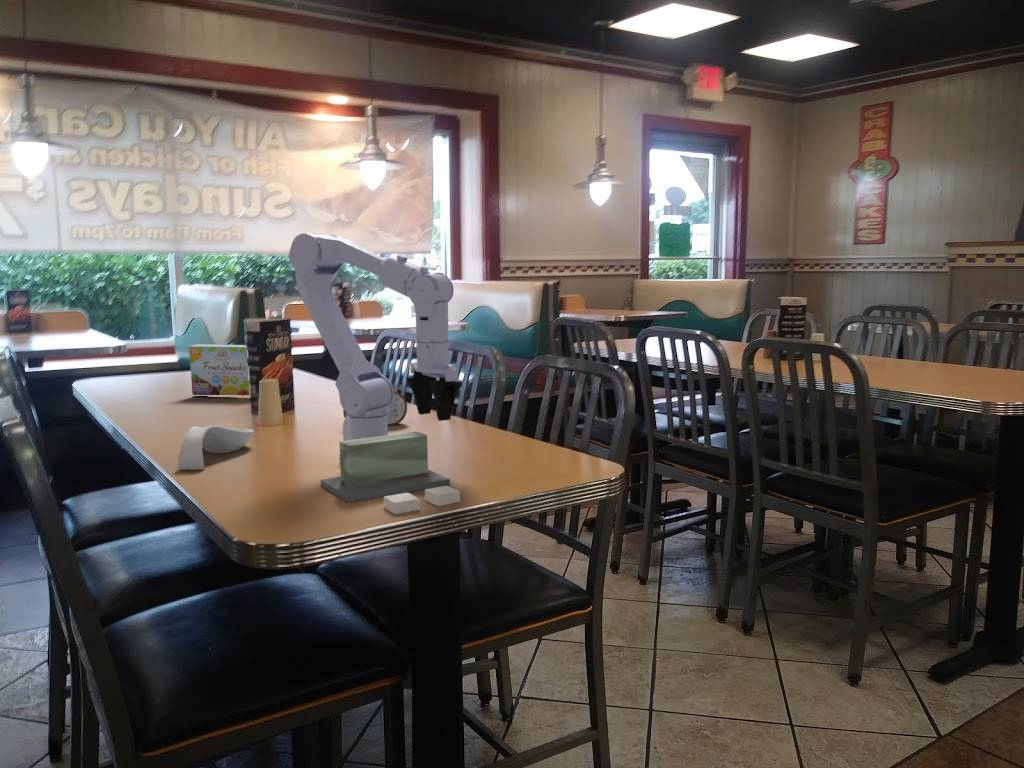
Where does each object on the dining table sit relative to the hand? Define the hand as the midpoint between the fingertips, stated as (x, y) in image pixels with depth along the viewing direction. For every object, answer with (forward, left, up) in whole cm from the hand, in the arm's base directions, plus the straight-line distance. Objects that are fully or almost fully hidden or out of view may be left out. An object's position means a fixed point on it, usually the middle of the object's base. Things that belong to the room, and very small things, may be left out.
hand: (434, 416), depth 144 cm
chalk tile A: (+19, -16, -10) cm, 27 cm away
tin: (-42, +7, -10) cm, 44 cm away
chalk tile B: (+19, -9, -10) cm, 23 cm away
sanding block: (+6, -13, -8) cm, 16 cm away
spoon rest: (-34, -31, -10) cm, 47 cm away
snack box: (-108, -9, -10) cm, 109 cm away
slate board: (+6, -13, -9) cm, 17 cm away
